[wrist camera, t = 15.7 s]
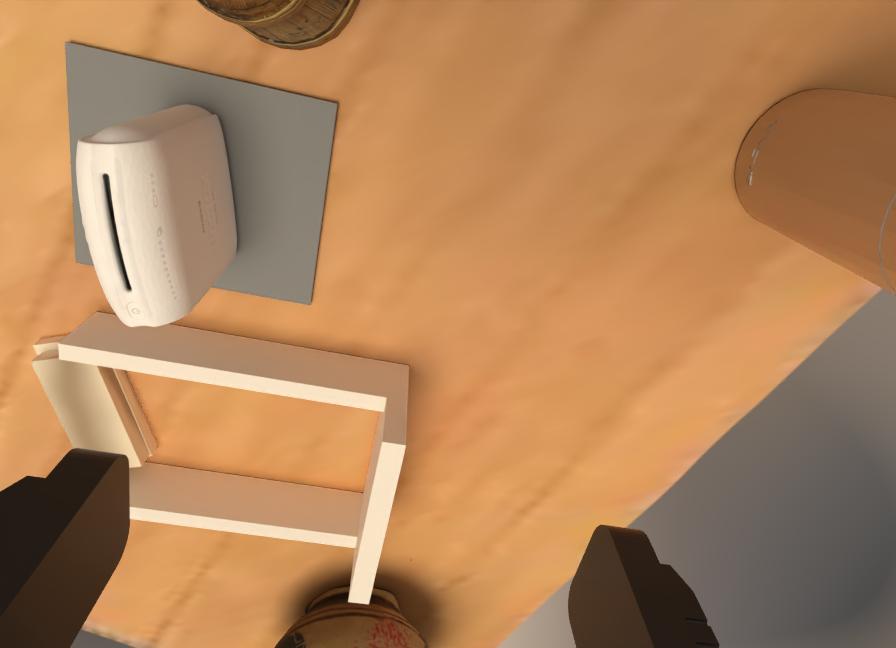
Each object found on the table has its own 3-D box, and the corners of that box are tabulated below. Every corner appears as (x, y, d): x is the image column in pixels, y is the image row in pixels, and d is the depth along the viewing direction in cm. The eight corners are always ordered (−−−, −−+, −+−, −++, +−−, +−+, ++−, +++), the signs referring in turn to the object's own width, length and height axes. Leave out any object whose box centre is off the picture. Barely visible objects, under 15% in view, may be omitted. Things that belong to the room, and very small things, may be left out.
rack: (409, 365, 46) (406, 445, 37) (377, 505, 52) (368, 604, 43) (96, 311, 43) (9, 384, 34) (101, 467, 49) (28, 564, 40)
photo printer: (245, 262, 41) (179, 344, 30) (182, 261, 41) (92, 343, 30) (226, 104, 36) (140, 132, 25) (155, 102, 36) (37, 130, 25)
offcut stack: (110, 327, 44) (89, 346, 41) (159, 444, 48) (144, 468, 46) (44, 335, 44) (19, 355, 41) (100, 451, 48) (81, 476, 46)
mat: (338, 103, 37) (337, 103, 37) (311, 302, 43) (310, 305, 43) (69, 41, 35) (65, 41, 35) (79, 260, 41) (75, 262, 40)
